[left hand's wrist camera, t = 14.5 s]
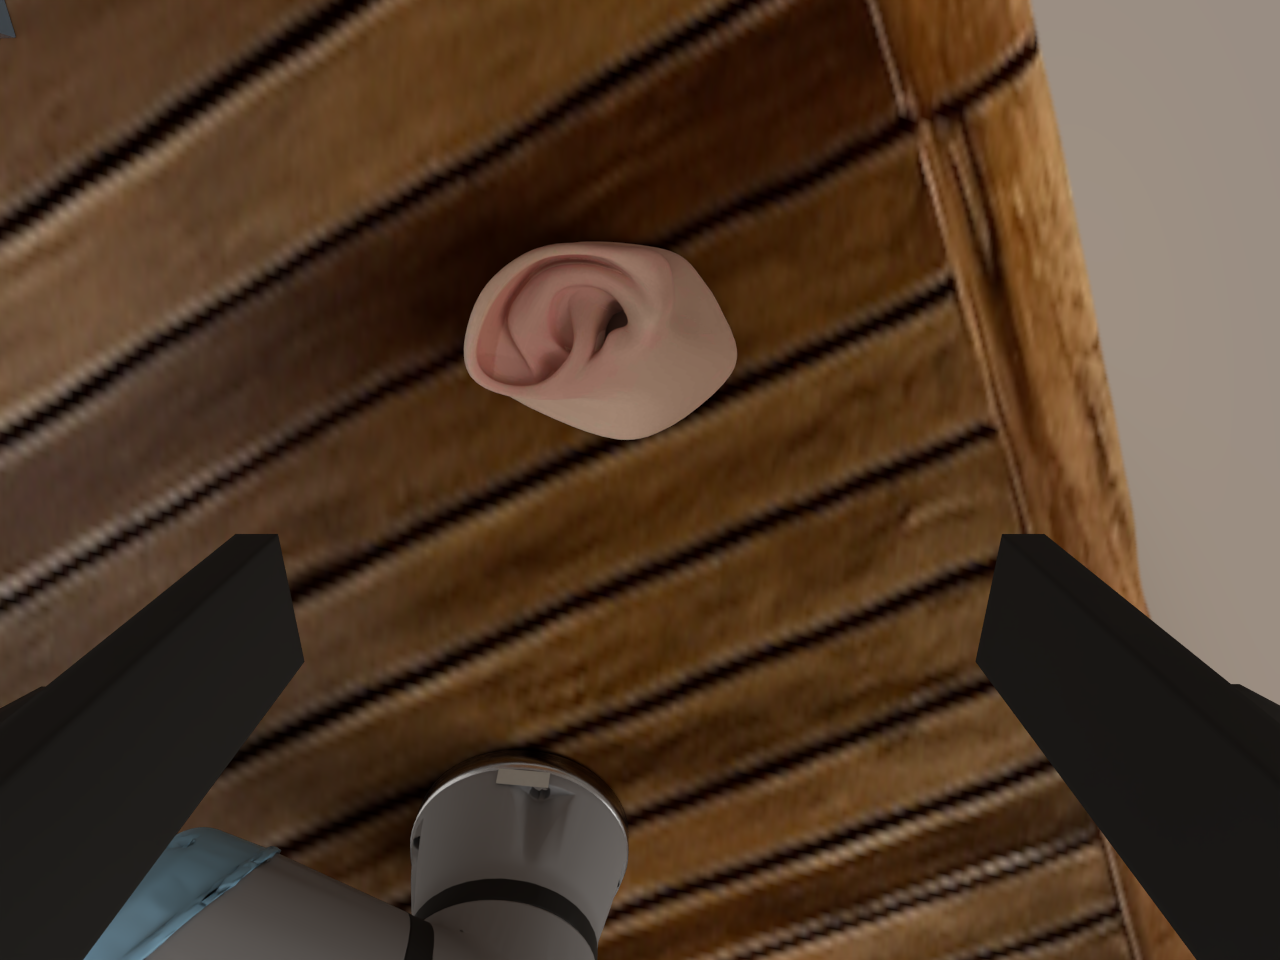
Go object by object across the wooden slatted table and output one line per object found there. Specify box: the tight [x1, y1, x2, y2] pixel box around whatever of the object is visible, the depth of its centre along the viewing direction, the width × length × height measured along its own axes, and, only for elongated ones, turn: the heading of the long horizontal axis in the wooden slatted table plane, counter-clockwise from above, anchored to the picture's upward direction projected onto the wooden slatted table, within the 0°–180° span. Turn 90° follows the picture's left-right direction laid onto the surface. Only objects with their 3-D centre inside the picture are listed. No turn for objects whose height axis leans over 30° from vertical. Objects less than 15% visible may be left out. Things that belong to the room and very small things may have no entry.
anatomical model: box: [464, 242, 737, 440], centre depth 36 cm, size 13×4×12 cm
